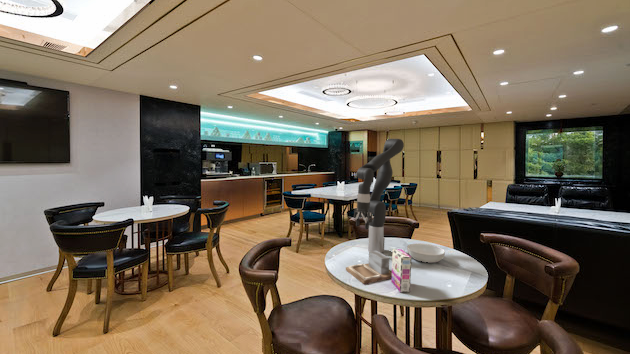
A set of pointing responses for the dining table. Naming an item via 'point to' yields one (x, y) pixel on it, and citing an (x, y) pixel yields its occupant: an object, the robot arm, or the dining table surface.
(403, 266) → the candy bar box
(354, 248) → the dining table surface
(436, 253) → the serving bowl
